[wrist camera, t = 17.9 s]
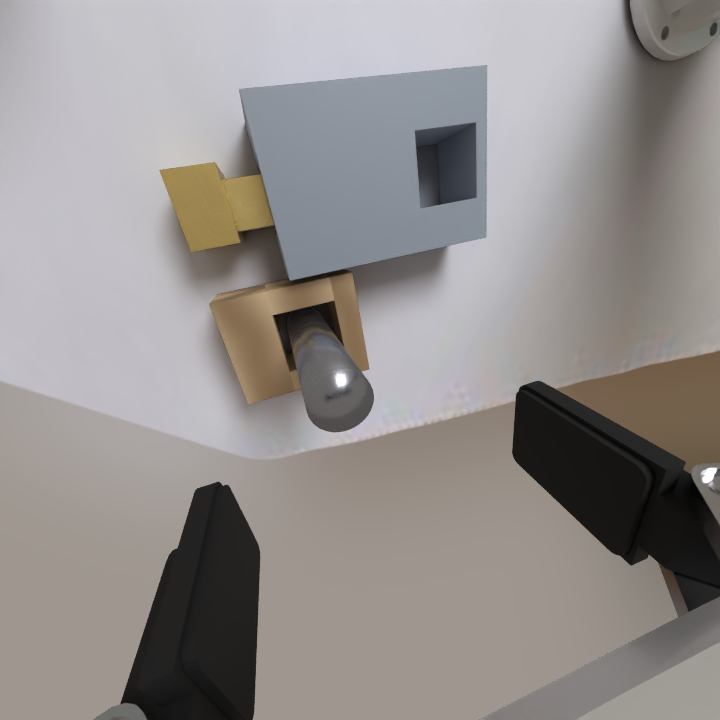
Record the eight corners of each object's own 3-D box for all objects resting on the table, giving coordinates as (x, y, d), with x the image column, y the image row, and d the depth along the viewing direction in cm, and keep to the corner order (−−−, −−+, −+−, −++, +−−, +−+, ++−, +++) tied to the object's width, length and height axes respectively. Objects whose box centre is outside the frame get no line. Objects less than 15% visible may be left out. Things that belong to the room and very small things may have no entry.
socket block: (444, 98, 23) (486, 65, 19) (450, 237, 27) (486, 237, 23) (244, 121, 20) (238, 89, 16) (285, 272, 24) (290, 280, 20)
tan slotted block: (340, 267, 25) (352, 272, 22) (356, 352, 29) (369, 369, 25) (217, 294, 24) (209, 304, 20) (250, 382, 27) (248, 404, 23)
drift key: (359, 155, 23) (376, 139, 19) (368, 218, 25) (385, 215, 21) (177, 181, 20) (159, 170, 17) (203, 249, 22) (191, 252, 19)
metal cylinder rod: (319, 302, 26) (368, 362, 14) (326, 337, 27) (378, 420, 15) (282, 311, 25) (298, 382, 13) (292, 346, 27) (315, 440, 14)
